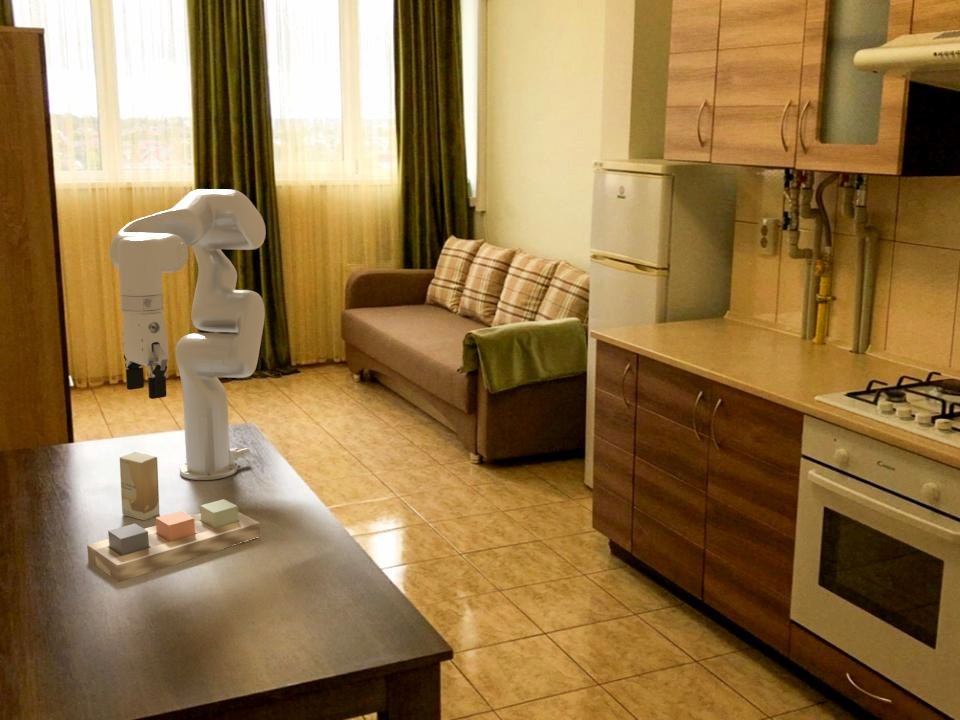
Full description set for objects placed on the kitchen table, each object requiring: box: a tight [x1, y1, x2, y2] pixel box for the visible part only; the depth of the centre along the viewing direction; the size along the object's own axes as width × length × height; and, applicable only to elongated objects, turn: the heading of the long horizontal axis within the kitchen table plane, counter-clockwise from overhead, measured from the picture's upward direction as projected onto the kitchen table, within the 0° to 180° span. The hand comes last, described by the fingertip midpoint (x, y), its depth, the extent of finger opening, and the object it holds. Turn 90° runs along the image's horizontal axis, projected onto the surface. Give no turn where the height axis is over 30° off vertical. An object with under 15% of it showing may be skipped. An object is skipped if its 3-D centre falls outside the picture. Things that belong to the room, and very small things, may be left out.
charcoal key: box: [107, 523, 149, 556], centre depth 181 cm, size 5×5×4 cm
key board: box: [86, 511, 261, 583], centre depth 187 cm, size 28×12×3 cm, turn 134°
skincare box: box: [119, 451, 160, 521], centre depth 202 cm, size 6×4×12 cm
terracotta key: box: [155, 510, 195, 542], centre depth 187 cm, size 5×5×4 cm
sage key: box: [199, 498, 239, 529], centre depth 193 cm, size 5×5×4 cm
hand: (146, 393), depth 193 cm, fingers open, 9 cm apart
